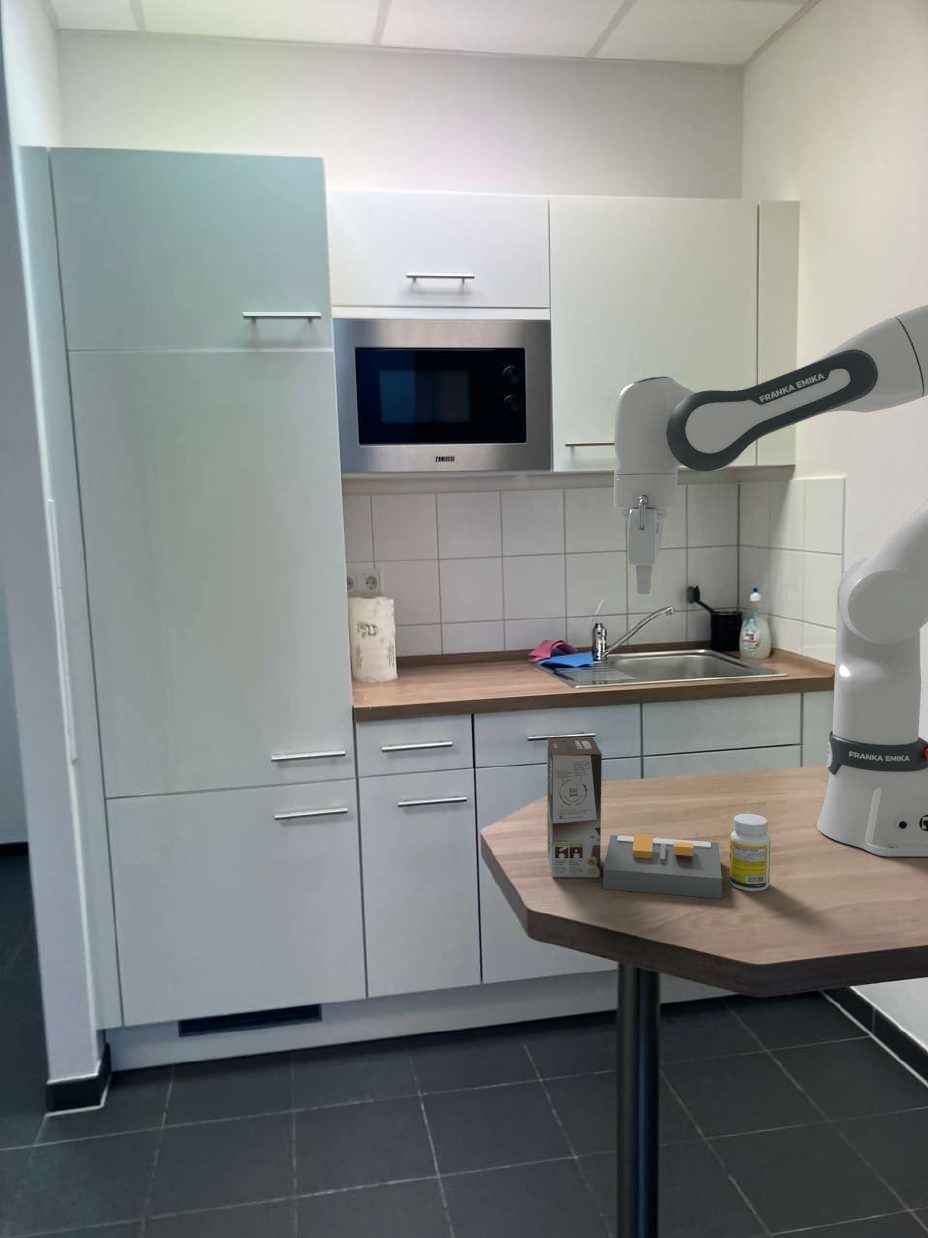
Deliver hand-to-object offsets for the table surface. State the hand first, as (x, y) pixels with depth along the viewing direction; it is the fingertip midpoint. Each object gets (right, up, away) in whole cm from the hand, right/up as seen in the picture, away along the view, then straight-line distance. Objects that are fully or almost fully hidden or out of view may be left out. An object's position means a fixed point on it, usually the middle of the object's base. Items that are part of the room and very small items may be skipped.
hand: (643, 593), depth 133 cm
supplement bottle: (+9, -37, -18) cm, 42 cm away
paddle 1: (-3, -33, -15) cm, 36 cm away
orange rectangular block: (+2, -33, -16) cm, 36 cm away
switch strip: (-1, -36, -15) cm, 39 cm away
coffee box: (-12, -36, -11) cm, 40 cm away
